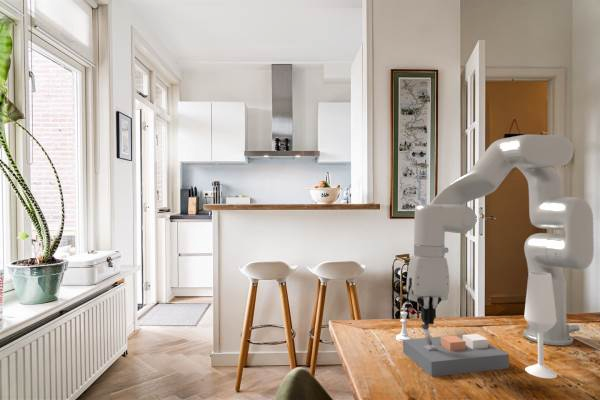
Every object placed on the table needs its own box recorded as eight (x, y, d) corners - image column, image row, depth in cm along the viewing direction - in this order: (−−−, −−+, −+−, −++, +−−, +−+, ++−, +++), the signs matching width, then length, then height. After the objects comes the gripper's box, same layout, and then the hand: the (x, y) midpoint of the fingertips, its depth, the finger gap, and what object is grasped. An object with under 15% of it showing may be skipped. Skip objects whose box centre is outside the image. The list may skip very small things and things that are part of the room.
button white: (477, 342, 106) (477, 333, 106) (488, 348, 101) (487, 339, 101) (462, 344, 105) (462, 334, 105) (473, 350, 100) (472, 340, 100)
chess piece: (413, 342, 115) (413, 308, 115) (396, 341, 116) (395, 308, 116) (412, 336, 119) (411, 304, 119) (395, 335, 120) (395, 303, 120)
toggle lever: (431, 343, 102) (425, 320, 101) (435, 345, 100) (429, 322, 100) (425, 345, 101) (419, 322, 101) (429, 348, 100) (423, 324, 99)
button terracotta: (455, 344, 104) (455, 335, 104) (465, 351, 100) (465, 341, 100) (440, 346, 104) (440, 336, 104) (450, 352, 99) (450, 342, 99)
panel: (471, 346, 111) (471, 332, 111) (508, 368, 96) (508, 352, 96) (403, 352, 107) (403, 338, 107) (431, 376, 92) (431, 360, 92)
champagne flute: (524, 364, 99) (523, 270, 99) (556, 369, 95) (555, 272, 95) (524, 374, 93) (523, 274, 93) (558, 380, 90) (557, 277, 90)
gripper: (446, 250, 106) (445, 317, 106) (395, 250, 103) (394, 319, 103) (463, 253, 98) (462, 326, 98) (409, 253, 96) (407, 328, 95)
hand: (427, 322), depth 100 cm, fingers closed
